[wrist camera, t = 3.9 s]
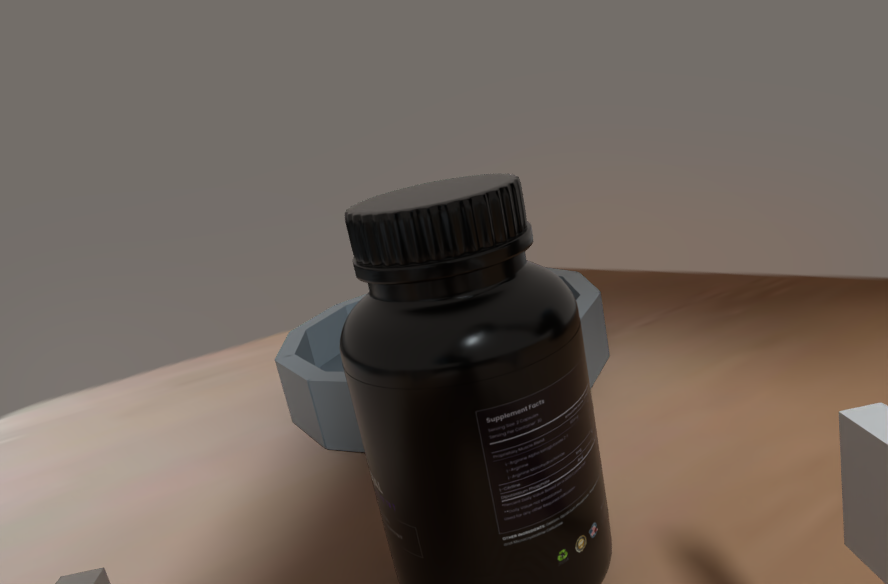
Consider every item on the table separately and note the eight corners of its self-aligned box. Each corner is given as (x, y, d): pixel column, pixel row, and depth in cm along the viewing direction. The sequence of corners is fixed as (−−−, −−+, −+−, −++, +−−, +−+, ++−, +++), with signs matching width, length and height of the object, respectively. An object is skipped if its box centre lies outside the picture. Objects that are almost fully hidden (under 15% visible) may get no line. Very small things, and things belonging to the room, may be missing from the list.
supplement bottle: (358, 582, 22) (259, 222, 18) (502, 480, 26) (441, 171, 23) (511, 696, 16) (409, 222, 13) (662, 545, 20) (611, 155, 17)
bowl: (633, 313, 40) (626, 257, 39) (545, 467, 26) (531, 385, 25) (396, 320, 48) (385, 275, 47) (229, 441, 34) (210, 378, 33)
